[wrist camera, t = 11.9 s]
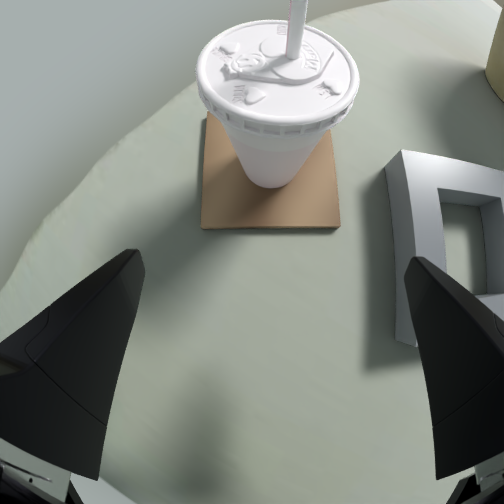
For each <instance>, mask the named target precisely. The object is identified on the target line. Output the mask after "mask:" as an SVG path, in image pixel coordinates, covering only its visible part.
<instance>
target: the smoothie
mask: <svg viewBox="0 0 504 504" xmlns="http://www.w3.org/2000/svg"><path fill="white" fill-rule="evenodd" d="M307 5H308V0H290V8H289V19H288V21H283V20H260V21H252V22H248V23H244V24H240V25H237V26H235V27H232V28H230V29H227V30H226V31H224V32H222V33H220V34H219V35H217V36H216V37H214V38H213V39H212V40H211V41H210V42H209V43H208V44H207V45H206V46H205V47H204V49H203V50H202V51H201V53H200V55H199V57H198V60H197V63H196V71H195V72H196V79H197V83H198V90H199V96H200V98H201V100H202V101H203V103H204V105H205V107H206V108H207V110H208V111H209V112H210V113H211V114H213V115H214V116H215V117H216V118H217V119H218V120H219V121H220V122H221V123H222V125H223V127H224V129H225V131H226V133H227V135H228V137H229V139H230V141H231V144H232V146H233V148H234V150H235V152H236V154H237V156H238V158H239V160H240V163H241V165H242V167H243V169H244V171H245V173H246V175H247V177H248V178H249V179H250V180H251V181H252V182H253V183H255V184H256V185H258V186H261V187H264V188H278V187H282V186H284V185H286V184H288V183H289V182H290V181H291V180H292V179H293V178H294V177H295V175H296V174H297V172H298V171H299V169H300V168H301V166H302V165H303V164H304V162H305V161H306V159H307V158H308V156H309V155H310V154H311V152H312V151H313V149H314V148H315V146H316V145H317V143H318V142H319V141H320V139H321V138H322V136H323V135H324V134H325V132H326V131H327V130H329V129H331V128H332V127H334V126H335V125H336V124H338V123H339V122H340V121H342V120H343V119H344V118H345V117H346V115H347V114H348V112H349V111H350V109H351V108H352V106H353V102H354V98H355V96H356V94H357V91H358V88H359V72H358V69H357V66H356V64H355V62H354V60H353V58H352V57H351V55H350V54H349V52H348V51H347V50H346V49H345V48H344V47H343V46H342V45H341V44H340V43H339V42H337V41H336V40H335V39H333V38H332V37H331V36H329V35H327V34H325V33H324V32H322V31H320V30H318V29H315V28H313V27H310V26H307V25H305V19H306V12H307Z"/></svg>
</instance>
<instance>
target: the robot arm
mask: <svg viewBox="0 0 504 504" xmlns="http://www.w3.org/2000/svg"><path fill="white" fill-rule="evenodd" d="M144 277H145V268H144V264H143V261H142V257H141V254H140V251H139V250H138V249H126V250H124V251H123V252H121V253H120V254H118V255H117V256H115V257H114V258H113V259H111V260H110V261H108V262H107V263H105V264H104V265H103V266H101V267H100V268H98V269H97V270H96V271H94V272H93V273H91V274H90V275H89V276H87V277H86V278H85V279H83V280H82V281H81V282H79V283H78V284H77V285H75V286H74V287H73V288H71V289H70V290H69V291H67V292H66V293H65V294H63V295H62V296H61V297H59V298H58V299H57V300H56V301H54V302H53V303H52V304H51V305H50V306H48V307H47V308H45V309H44V310H43V311H42V312H40V313H39V314H38V315H37V316H35V317H34V318H33V319H32V320H30V321H29V322H28V323H26V324H25V325H24V326H22V327H21V328H19V329H18V330H17V331H15V332H14V333H13V334H11V335H10V336H9V337H7V338H6V339H5V340H3V341H2V342H1V343H0V504H84V503H83V502H82V500H81V498H80V497H79V495H78V493H77V492H76V490H75V488H74V486H73V484H72V483H71V481H70V476H71V472H72V473H75V474H78V475H81V476H84V477H86V478H90V479H93V480H96V481H97V480H98V477H99V470H100V464H101V457H102V451H103V445H104V440H105V435H106V429H107V424H108V419H109V414H110V409H111V405H112V401H113V396H114V392H115V388H116V384H117V380H118V376H119V372H120V368H121V365H122V361H123V357H124V354H125V350H126V347H127V343H128V340H129V337H130V333H131V330H132V327H133V323H134V320H135V317H136V313H137V309H138V304H139V299H140V295H141V290H142V286H143V281H144ZM404 284H405V289H406V294H407V299H408V304H409V310H410V315H411V320H412V324H413V328H414V332H415V336H416V340H417V344H418V348H419V352H420V357H421V361H422V366H423V371H424V376H425V381H426V386H427V392H428V398H429V405H430V412H431V419H432V427H433V428H432V429H433V439H434V451H435V470H436V480H439V479H442V478H445V477H448V476H451V475H453V474H456V473H459V472H461V471H464V470H466V469H468V468H471V467H473V466H474V468H475V473H473V474H471V475H469V476H467V477H465V478H463V479H461V480H460V481H459V482H458V484H457V486H456V488H455V490H454V491H453V493H452V495H451V496H450V498H449V500H448V501H447V503H446V504H504V321H503V320H502V319H501V318H500V317H499V316H497V315H496V314H495V313H493V311H492V310H491V309H489V308H488V307H487V306H486V305H485V304H484V303H482V302H481V301H480V300H479V299H478V298H476V297H475V296H474V295H473V294H472V293H470V292H469V291H468V290H467V289H465V288H464V287H463V286H462V285H460V284H459V283H458V282H457V281H455V280H454V279H453V278H452V277H450V276H449V275H448V274H446V273H445V272H444V271H442V270H441V269H440V268H438V267H437V266H436V265H434V264H433V263H432V262H430V261H429V260H428V259H426V258H425V257H423V256H413V257H412V258H411V259H410V262H409V264H408V267H407V269H406V271H405V274H404Z"/></svg>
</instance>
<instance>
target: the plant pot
mask: <svg viewBox="0 0 504 504" xmlns="http://www.w3.org/2000/svg"><path fill="white" fill-rule="evenodd" d="M485 74H486V78H487V80H488V82H489V84H490V85H491V87H492V89H493V90H494V91H495V93H496V94H497V95H498V97H499V98H500V99H501V100H502V101H503V102H504V6H503V9H502V12H501V15H500V18H499V21H498V24H497V28H496V31H495V35H494V38H493V42H492V46H491V50H490V54H489V58H488V62H487V66H486V71H485Z"/></svg>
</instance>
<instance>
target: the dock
mask: <svg viewBox="0 0 504 504" xmlns="http://www.w3.org/2000/svg"><path fill="white" fill-rule="evenodd" d="M384 168H385V173H386V180H387V186H388V193H389V201H390V209H391V218H392V228H393V239H394V254H395V276H396V324H395V340H397V341H400V342H403V343H406V344H409V345H411V346H414V347H418V344H417V340H416V336H415V332H414V328H413V324H412V320H411V315H410V310H409V304H408V299H407V294H406V289H405V284H404V274H405V271H406V269H407V267H408V264H409V262H410V259H411V258H412V257H413V256H423V257H425V258H426V259H428V260H429V261H430V262H432V263H433V264H434V265H436V266H437V267H438V268H440V269H441V270H442V271H444V272H445V273H446V274H447V269H446V252H445V240H444V231H443V222H442V215H441V208H440V202H444V203H453V204H462V205H471V206H479V207H480V212H481V218H482V225H483V233H484V242H485V253H486V269H487V294H481V295H474V296H475V297H476V298H478V299H479V300H480V301H481V302H482V303H484V304H485V305H486V306H487V307H488V308H489V309H491V310H492V311H493V313H495V314H496V315H497V316H499V317H500V318H501V319H502V320H503V321H504V172H503V171H500V170H496V169H493V168H489V167H485V166H482V165H478V164H474V163H469V162H465V161H461V160H456V159H452V158H447V157H442V156H437V155H431V154H426V153H420V152H414V151H408V150H400V151H399V152H398V153H397V154H396V155H395V156H394V157H393V158H392V159H391V160H390V162H389V163H388V164H387V165H386V166H385V167H384Z"/></svg>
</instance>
